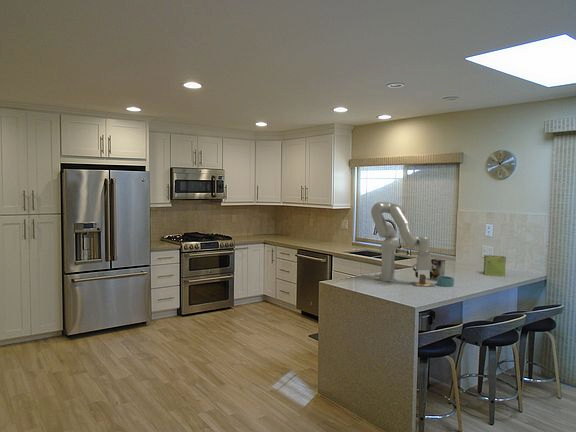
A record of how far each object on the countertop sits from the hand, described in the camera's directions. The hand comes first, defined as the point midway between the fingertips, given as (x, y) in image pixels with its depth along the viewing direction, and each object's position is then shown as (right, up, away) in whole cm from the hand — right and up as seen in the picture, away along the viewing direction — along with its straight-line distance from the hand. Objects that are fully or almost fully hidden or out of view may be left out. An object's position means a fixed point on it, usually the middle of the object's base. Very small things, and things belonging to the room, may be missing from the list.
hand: (423, 277), depth 314 cm
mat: (-1, -6, +1) cm, 6 cm away
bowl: (+15, -6, -1) cm, 16 cm away
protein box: (+72, -5, +46) cm, 86 cm away
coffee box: (+16, -5, +18) cm, 25 cm away
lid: (-1, -5, +1) cm, 5 cm away
